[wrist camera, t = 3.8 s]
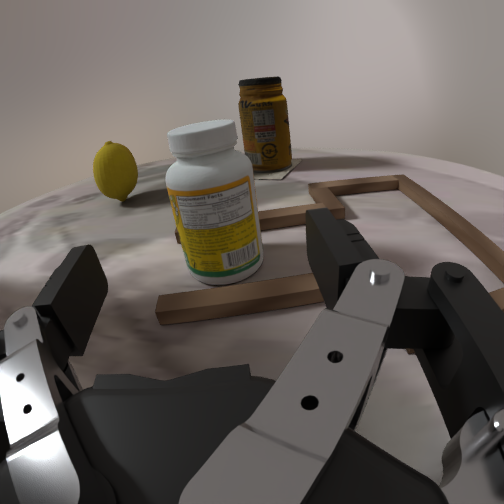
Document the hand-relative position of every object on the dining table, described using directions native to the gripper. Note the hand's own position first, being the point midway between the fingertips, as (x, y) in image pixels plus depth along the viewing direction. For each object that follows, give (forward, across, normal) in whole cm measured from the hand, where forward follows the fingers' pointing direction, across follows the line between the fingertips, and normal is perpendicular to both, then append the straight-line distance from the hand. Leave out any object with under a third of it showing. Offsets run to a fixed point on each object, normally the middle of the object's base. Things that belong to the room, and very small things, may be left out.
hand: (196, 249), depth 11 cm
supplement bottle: (+9, 0, +7) cm, 11 cm away
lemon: (+26, +13, +7) cm, 30 cm away
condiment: (+30, -6, +7) cm, 31 cm away
